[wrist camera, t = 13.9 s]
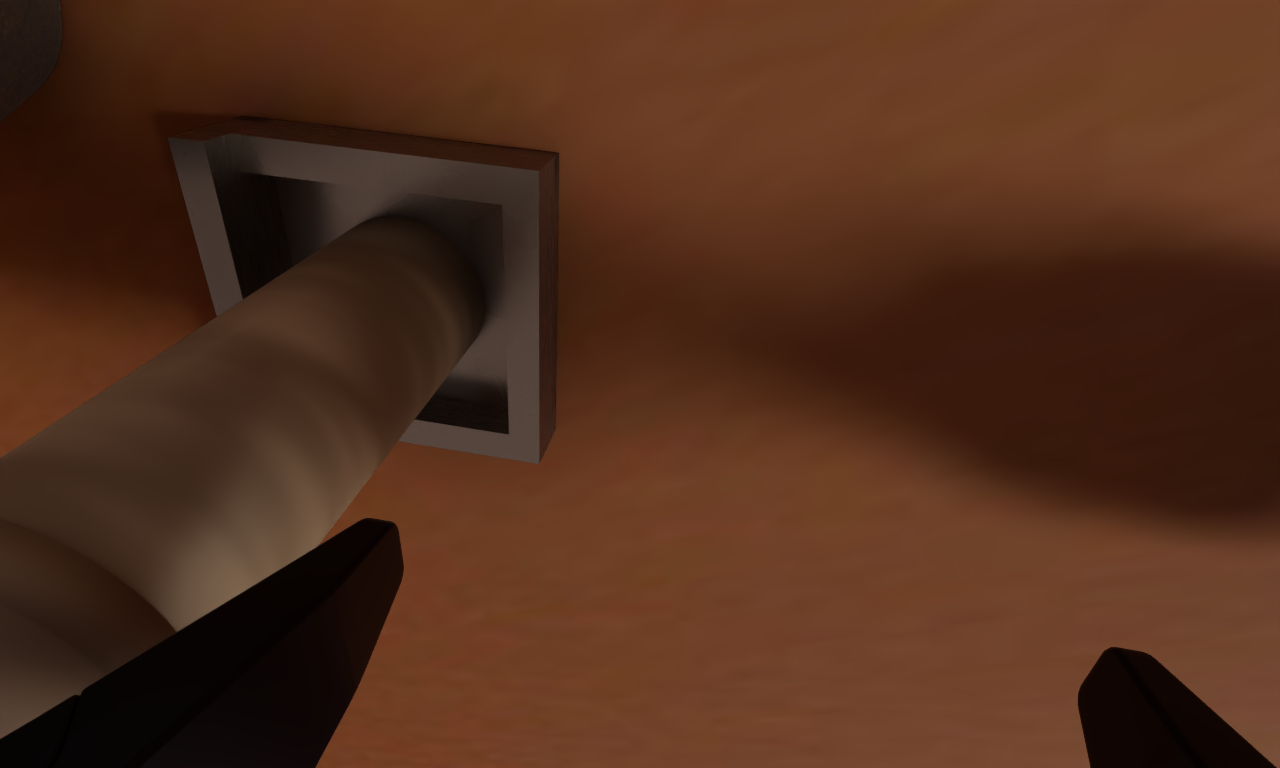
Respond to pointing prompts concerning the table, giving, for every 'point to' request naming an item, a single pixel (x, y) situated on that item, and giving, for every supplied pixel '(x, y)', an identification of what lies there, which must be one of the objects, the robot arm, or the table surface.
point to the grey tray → (408, 188)
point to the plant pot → (27, 48)
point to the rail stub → (220, 456)
